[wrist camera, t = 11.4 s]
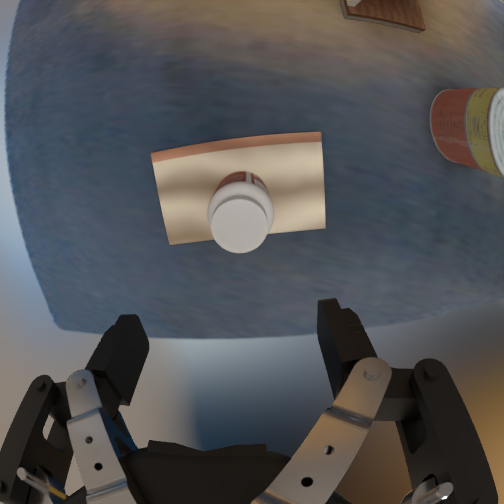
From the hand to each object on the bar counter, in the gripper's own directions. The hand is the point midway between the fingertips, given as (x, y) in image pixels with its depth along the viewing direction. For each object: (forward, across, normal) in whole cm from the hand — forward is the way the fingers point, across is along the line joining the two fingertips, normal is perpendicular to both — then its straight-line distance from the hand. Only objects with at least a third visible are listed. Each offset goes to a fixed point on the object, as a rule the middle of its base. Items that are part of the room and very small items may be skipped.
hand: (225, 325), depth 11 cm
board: (+23, 0, -1) cm, 23 cm away
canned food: (+24, -32, -9) cm, 41 cm away
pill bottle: (+23, 0, 0) cm, 23 cm away
